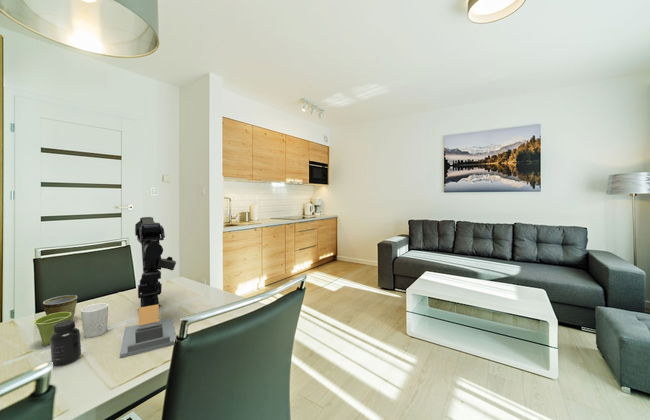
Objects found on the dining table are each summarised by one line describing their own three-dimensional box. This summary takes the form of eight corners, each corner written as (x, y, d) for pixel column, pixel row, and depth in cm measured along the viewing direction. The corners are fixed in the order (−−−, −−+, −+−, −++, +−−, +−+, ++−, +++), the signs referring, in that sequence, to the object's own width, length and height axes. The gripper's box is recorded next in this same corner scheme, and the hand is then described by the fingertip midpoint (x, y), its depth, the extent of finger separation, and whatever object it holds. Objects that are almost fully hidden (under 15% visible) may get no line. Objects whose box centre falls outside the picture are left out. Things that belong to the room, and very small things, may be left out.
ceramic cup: (83, 320, 112) (82, 297, 112) (51, 331, 103) (49, 306, 103) (67, 314, 118) (66, 292, 117) (35, 324, 109) (34, 300, 108)
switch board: (125, 330, 105) (124, 317, 105) (172, 320, 113) (172, 308, 113) (120, 358, 87) (119, 342, 87) (176, 343, 96) (176, 329, 96)
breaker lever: (137, 330, 95) (137, 308, 97) (160, 325, 99) (160, 304, 101) (137, 330, 94) (136, 308, 96) (160, 325, 97) (160, 303, 100)
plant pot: (39, 351, 90) (38, 326, 90) (32, 343, 95) (30, 319, 95) (76, 339, 98) (75, 315, 98) (67, 331, 103) (66, 309, 103)
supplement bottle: (64, 354, 89) (62, 318, 88) (86, 353, 90) (85, 318, 89) (44, 367, 82) (42, 329, 82) (68, 366, 83) (67, 328, 82)
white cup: (113, 329, 105) (113, 304, 105) (90, 340, 98) (89, 313, 97) (100, 326, 108) (99, 301, 107) (76, 336, 100) (75, 309, 100)
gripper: (175, 256, 106) (176, 295, 107) (173, 248, 122) (174, 282, 123) (140, 259, 101) (142, 300, 101) (144, 250, 117) (145, 286, 117)
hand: (152, 291), depth 111 cm, fingers closed
